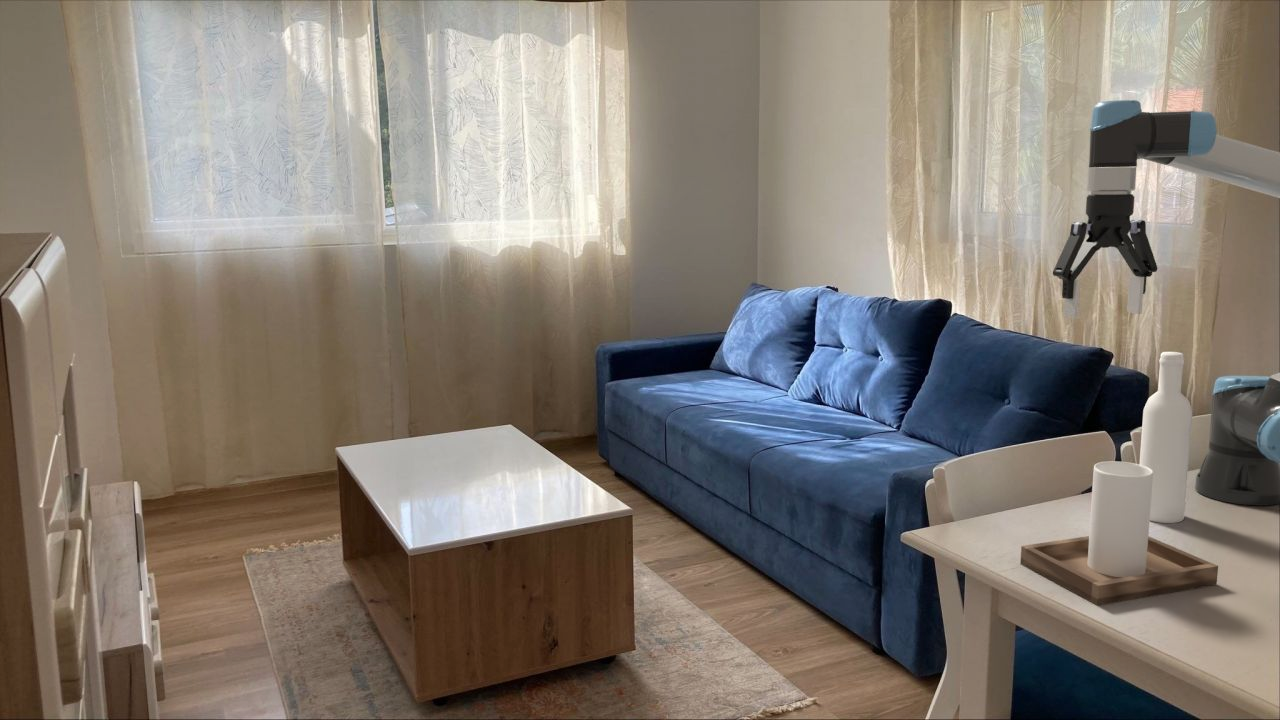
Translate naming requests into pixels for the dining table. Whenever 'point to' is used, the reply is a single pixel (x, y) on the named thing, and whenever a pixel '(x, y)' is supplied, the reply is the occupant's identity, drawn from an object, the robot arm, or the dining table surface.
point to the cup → (1120, 518)
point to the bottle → (1167, 441)
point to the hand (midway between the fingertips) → (1102, 315)
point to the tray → (1162, 576)
